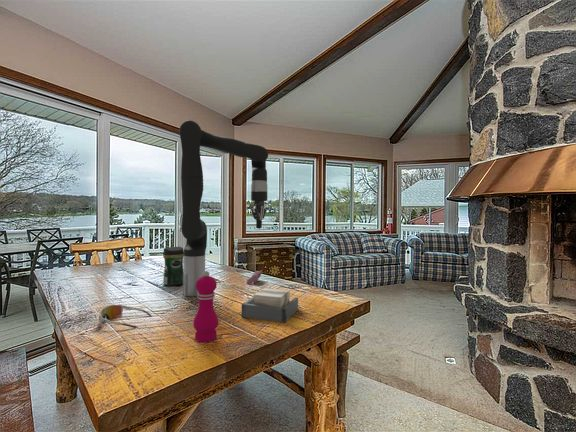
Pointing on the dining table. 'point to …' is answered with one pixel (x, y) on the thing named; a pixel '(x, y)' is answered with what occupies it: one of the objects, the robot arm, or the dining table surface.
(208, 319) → the pepper mill
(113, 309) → the sunglasses
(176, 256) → the coffee jar
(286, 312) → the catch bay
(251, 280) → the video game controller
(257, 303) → the cream block
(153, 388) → the dining table surface
